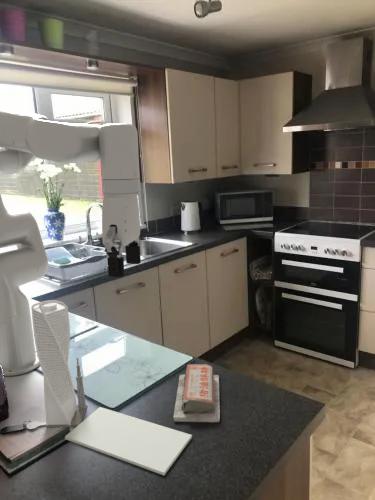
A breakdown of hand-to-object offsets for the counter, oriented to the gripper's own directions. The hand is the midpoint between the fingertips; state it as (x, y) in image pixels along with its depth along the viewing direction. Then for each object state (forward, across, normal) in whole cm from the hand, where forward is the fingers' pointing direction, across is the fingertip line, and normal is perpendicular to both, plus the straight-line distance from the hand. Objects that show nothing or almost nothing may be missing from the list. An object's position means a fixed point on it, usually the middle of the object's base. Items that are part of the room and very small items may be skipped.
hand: (125, 269), depth 87 cm
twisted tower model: (+32, +8, -13) cm, 36 cm away
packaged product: (+32, -5, +14) cm, 36 cm away
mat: (+32, +12, +3) cm, 34 cm away
